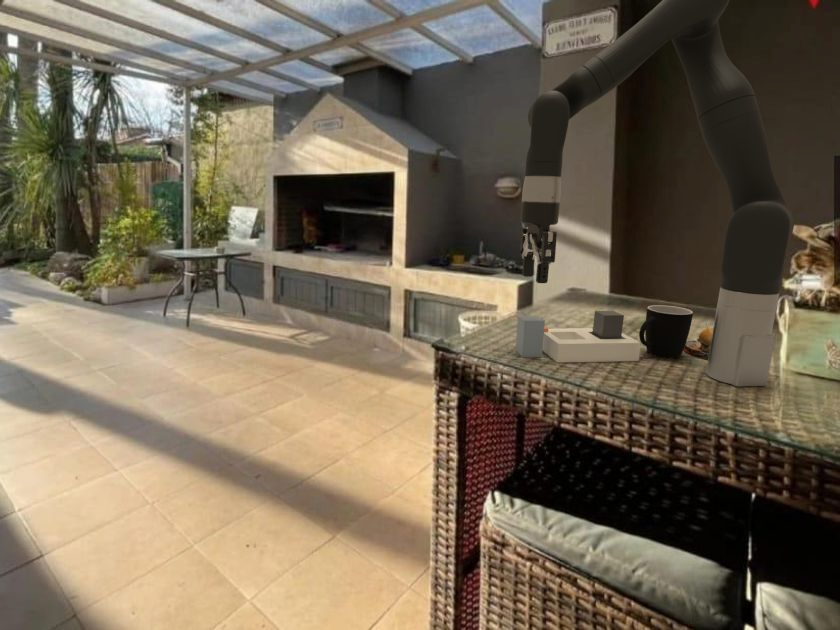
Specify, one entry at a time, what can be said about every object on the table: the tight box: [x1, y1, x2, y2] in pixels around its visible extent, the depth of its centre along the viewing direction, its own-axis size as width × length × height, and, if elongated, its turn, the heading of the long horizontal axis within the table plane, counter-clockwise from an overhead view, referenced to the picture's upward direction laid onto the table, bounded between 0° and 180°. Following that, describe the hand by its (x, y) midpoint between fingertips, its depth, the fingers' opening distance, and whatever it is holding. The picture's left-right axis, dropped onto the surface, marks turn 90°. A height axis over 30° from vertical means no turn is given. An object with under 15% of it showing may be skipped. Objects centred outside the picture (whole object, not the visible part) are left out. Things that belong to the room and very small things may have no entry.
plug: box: [515, 315, 546, 358], centre depth 106 cm, size 4×4×8 cm
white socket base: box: [542, 310, 642, 363], centre depth 108 cm, size 12×18×9 cm, turn 97°
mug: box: [638, 304, 694, 359], centre depth 108 cm, size 12×9×10 cm
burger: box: [683, 323, 713, 361], centre depth 110 cm, size 12×12×8 cm
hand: (534, 279), depth 104 cm, fingers open, 8 cm apart
